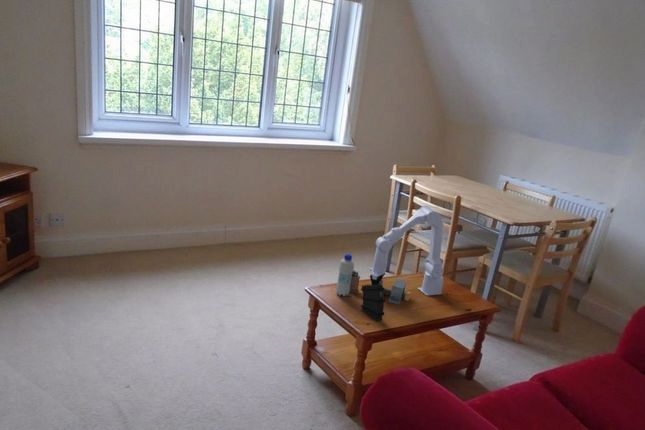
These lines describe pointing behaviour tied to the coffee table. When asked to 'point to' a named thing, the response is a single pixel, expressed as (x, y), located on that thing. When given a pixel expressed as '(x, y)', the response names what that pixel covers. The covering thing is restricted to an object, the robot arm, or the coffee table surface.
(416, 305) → the coffee table surface
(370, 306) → the black ribbed block
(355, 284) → the lighter
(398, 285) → the housing
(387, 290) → the plug
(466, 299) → the coffee table surface
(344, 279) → the bottle
